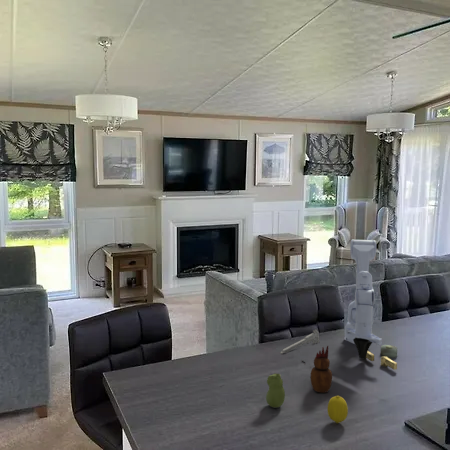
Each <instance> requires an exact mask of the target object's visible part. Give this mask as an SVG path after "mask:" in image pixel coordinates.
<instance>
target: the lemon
mask: <svg viewBox="0 0 450 450" xmlns="http://www.w3.org/2000/svg"><path fill="white" fill-rule="evenodd" d="M348 409H349V408H348V404H347V401H346V400H345V399H344V398H343V397H342V396H340V395H335V396H332V397H331V398H330V399H329V401H328V402H327V414H328V417H329V419H330V420H332V422H334V423H336V424H339V423H342V422H344V421H345V420H346V419H347V417H348V413H349V410H348Z"/></svg>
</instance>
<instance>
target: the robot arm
mask: <svg viewBox="0 0 450 450" xmlns="http://www.w3.org/2000/svg"><path fill="white" fill-rule="evenodd" d="M349 248H350V249H349V250H350V251H349V252H350V259H352V260H354V261H355V264H356V272H355V274H356V275H355V279H356V281H355V293H354V300H353V301H351V302H349V304H348V308H347V322H346V324H345V326H344V340H345V341H347V342H349V343H351V344H354V345H355V347H356V350H357V354H358V358H359V359H361V360H363V359H364V358H366V354H367V351H369V348H370V347H371V346H372V344H376V345H377V346H380V345H381V346H382V345H383V338H380V337H379V336H377V335H375V334H374V333H373V331H372V329H373V324H374V307H373V306H374V305H375V299H376V298H375V296H376V295H375V289H374V287H373V276H372V274H371V273H370V272H369V271H370V261H372V260H374V259H375V258H376V255H377V240H375V239H354V238H352V239H351V240H350V245H349ZM366 359H367V358H366Z"/></svg>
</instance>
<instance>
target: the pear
mask: <svg viewBox="0 0 450 450" xmlns="http://www.w3.org/2000/svg"><path fill="white" fill-rule="evenodd" d="M283 382H284V381H283V379H282V377H281V374H280V373H273V374H271V375H268V376H267V379H266V383H267V385H268V390H267V392H266V395H265V400H266V403H267V404H268V405H269V407H270V408H275V409H278V408H280V407H281V406H283V404H284V403H285V399H286V394H285V392H286V391H285V388H284V385H283V384H284V383H283Z"/></svg>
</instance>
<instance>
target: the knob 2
mask: <svg viewBox="0 0 450 450" xmlns="http://www.w3.org/2000/svg"><path fill="white" fill-rule="evenodd" d="M380 366H381V367H383V368H388V367H389V368H390V369H392V370H394V371H396V370H398V362H396V361H394V360H392V358H388V357H386V356H382V355H381V357H380Z"/></svg>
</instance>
